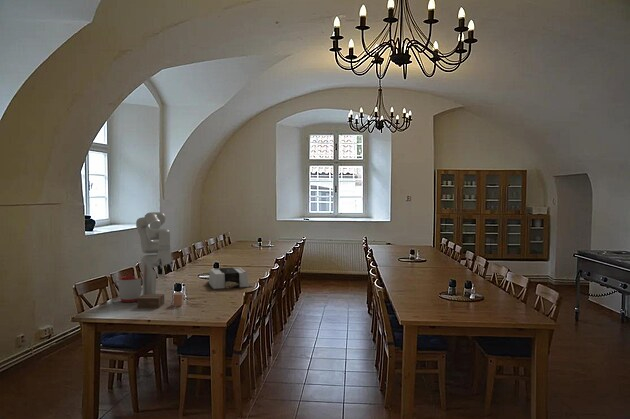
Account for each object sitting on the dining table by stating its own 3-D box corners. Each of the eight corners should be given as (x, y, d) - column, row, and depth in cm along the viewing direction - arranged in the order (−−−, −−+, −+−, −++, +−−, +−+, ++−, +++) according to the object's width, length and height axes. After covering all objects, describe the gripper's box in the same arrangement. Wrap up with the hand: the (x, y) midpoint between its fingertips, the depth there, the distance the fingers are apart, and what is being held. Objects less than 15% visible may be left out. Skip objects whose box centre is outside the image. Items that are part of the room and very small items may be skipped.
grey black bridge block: (252, 287, 412) (252, 272, 411) (211, 290, 400) (211, 275, 400) (243, 280, 445) (243, 266, 444) (205, 282, 433) (205, 268, 433)
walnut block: (144, 303, 352) (144, 293, 352) (164, 303, 352) (164, 294, 352) (137, 308, 338) (137, 298, 338) (158, 308, 338) (158, 298, 338)
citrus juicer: (148, 299, 364) (147, 272, 363) (129, 304, 348) (129, 275, 347) (132, 297, 371) (132, 270, 370) (113, 302, 355) (113, 274, 354)
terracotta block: (174, 304, 351) (174, 292, 351) (183, 304, 351) (183, 292, 351) (173, 306, 345) (172, 294, 345) (181, 306, 345) (181, 294, 345)
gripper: (167, 246, 349) (167, 270, 349) (151, 249, 332) (151, 274, 333) (176, 247, 346) (176, 271, 347) (161, 249, 330) (161, 275, 331)
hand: (164, 273), depth 340 cm, fingers open, 9 cm apart
